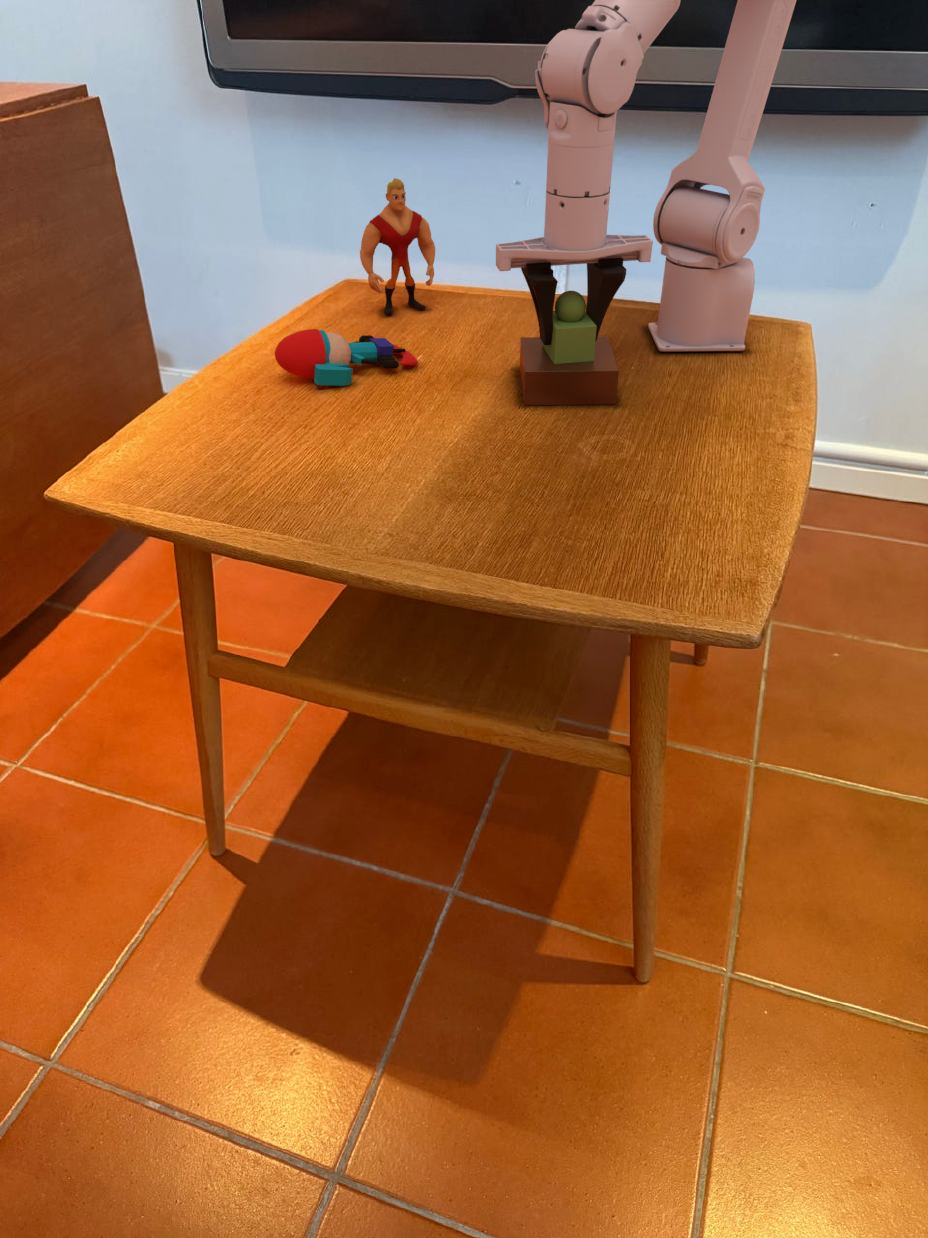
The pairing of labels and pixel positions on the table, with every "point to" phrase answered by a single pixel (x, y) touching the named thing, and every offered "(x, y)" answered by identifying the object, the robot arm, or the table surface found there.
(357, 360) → the toy figure
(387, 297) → the action figure
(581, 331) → the green toy
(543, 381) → the walnut block
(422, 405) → the table surface
